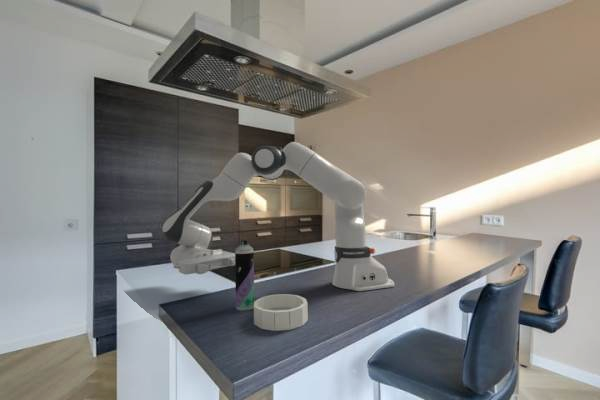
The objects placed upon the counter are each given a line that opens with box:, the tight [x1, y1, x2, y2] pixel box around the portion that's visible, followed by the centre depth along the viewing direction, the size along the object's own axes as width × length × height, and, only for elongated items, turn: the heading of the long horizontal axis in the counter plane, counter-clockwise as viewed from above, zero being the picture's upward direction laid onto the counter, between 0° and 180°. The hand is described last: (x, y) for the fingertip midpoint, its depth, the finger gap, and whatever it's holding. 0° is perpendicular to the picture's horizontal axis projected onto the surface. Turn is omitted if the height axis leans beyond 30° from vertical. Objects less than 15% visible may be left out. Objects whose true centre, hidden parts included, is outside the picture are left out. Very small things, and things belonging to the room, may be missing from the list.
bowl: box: [253, 293, 309, 332], centre depth 79 cm, size 14×14×4 cm
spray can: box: [234, 239, 256, 312], centre depth 89 cm, size 6×6×20 cm
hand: (222, 265), depth 96 cm, fingers open, 8 cm apart
